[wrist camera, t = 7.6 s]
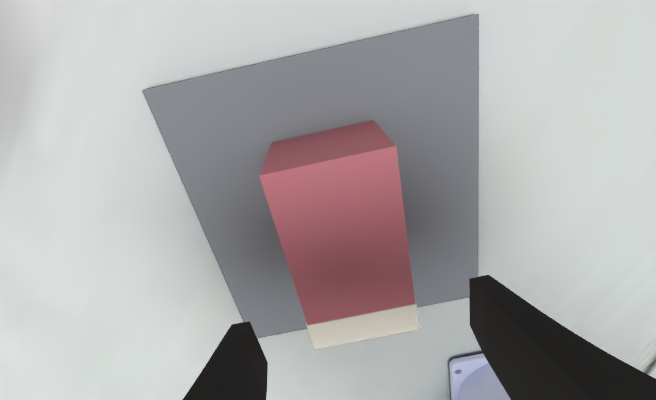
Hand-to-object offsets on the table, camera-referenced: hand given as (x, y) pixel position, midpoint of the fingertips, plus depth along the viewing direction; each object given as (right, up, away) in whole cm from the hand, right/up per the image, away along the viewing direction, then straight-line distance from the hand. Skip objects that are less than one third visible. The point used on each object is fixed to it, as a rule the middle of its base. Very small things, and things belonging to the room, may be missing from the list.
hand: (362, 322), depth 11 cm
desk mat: (-1, +4, +7) cm, 8 cm away
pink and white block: (-1, +3, +7) cm, 8 cm away
